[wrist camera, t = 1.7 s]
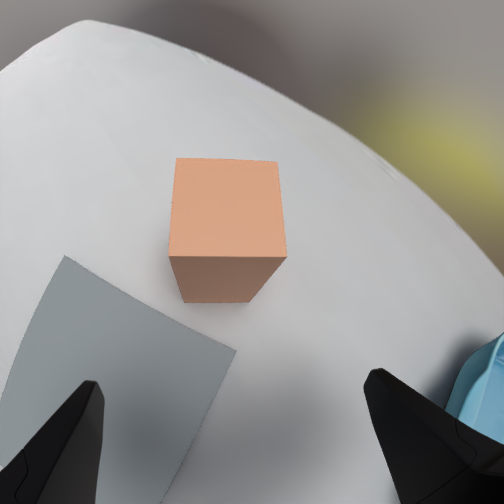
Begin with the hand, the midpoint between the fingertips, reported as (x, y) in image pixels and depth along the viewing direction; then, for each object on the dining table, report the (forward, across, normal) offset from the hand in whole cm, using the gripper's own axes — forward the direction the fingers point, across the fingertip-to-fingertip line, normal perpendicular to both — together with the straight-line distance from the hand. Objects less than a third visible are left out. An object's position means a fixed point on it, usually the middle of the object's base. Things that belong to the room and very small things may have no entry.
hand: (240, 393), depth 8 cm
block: (+15, 0, +4) cm, 16 cm away
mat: (+6, +11, +13) cm, 18 cm away
